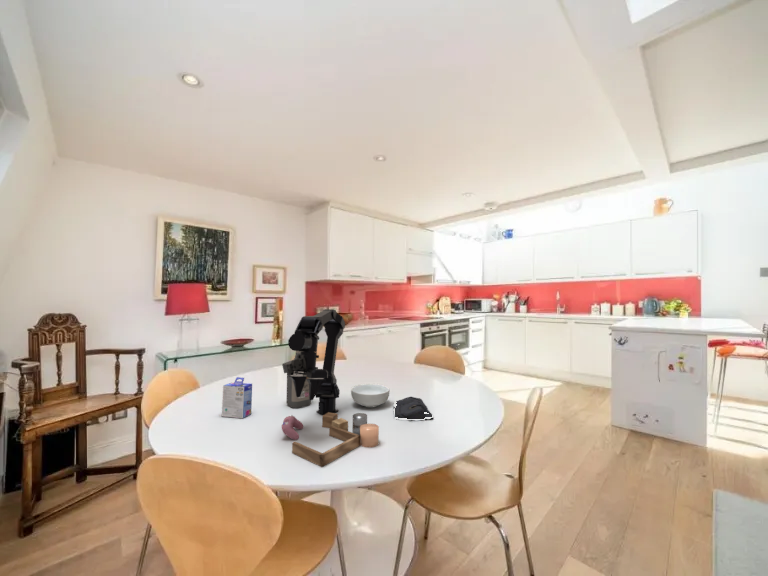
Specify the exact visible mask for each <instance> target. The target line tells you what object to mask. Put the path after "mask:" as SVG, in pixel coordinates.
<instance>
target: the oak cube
mask: <svg viewBox="0 0 768 576" xmlns="http://www.w3.org/2000/svg"><path fill="white" fill-rule="evenodd" d="M332 426H334V427H337V428H340V429H343V430H346V431H349V420H347V419H344V418H342V417H340V418H339V417H338V419H336V420H333V421H332Z"/></svg>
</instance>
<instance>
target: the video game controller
mask: <svg viewBox="0 0 768 576" xmlns="http://www.w3.org/2000/svg"><path fill="white" fill-rule="evenodd" d="M282 422H283V423H282V424H281V430H282V433H283V434H284V435H286V436H287V437H288V438H289V439H291V440H295V441H297V440H299V438H300V434H299V433H298V432H297V431H296V430H303V429H304V424H303V423H302V422H301V421H300V420H299V419H297V418H296V416H294V415H293V414H291V415H288V416H286V417H285V418H283V421H282ZM295 429H296V430H295Z"/></svg>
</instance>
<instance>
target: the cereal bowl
mask: <svg viewBox="0 0 768 576" xmlns="http://www.w3.org/2000/svg"><path fill="white" fill-rule="evenodd" d="M350 393H351V394H350V395H351V398H352V400H353V401H354V402H355V403H356V404H358V405H361V406H362V407H363V406H366V407H365V408H374V407H373V406H377V405H378V406H380V405H383V404H384V403H386V402H387V400H388V399H389V397H390V388H389V387H388V386H386V385H383V384H378V383H361V384H357V385H355V386H352V387H351V389H350ZM378 406H377V407H378Z"/></svg>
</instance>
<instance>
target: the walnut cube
mask: <svg viewBox="0 0 768 576" xmlns="http://www.w3.org/2000/svg"><path fill="white" fill-rule="evenodd" d="M338 415H339V414H338V413H337V412H335V413H330V412H328V413H326V414H325V415H323V414H322V423H321V424H322V425H321V427H322V428H325V429H326V428H327V429H329V427H330V426H332V421H333V420H336V419H339V417H338Z"/></svg>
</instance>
